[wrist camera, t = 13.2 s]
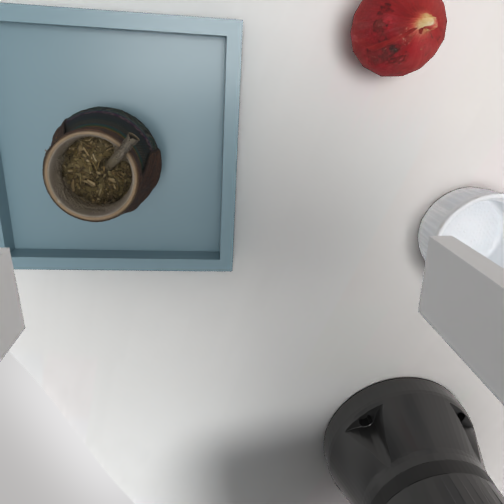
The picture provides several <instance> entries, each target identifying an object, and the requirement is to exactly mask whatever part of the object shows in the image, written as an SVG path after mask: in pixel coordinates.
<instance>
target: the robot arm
mask: <svg viewBox="0 0 504 504" xmlns="http://www.w3.org/2000/svg"><path fill="white" fill-rule="evenodd" d="M418 312H419V313H420V314H421V315H422V316H423V317H424V318H425V320H426V321H427V322H428V323H429V324H430V325H431V326H432V327H433V328H434V329H435V330H436V332H437V333H438V334H439V335H440V336H441V337H442V338H443V339H444V340H445V341H446V343H447V344H448V345H449V346H450V347H451V348H452V349H453V350H454V351H455V352H456V354H457V355H458V356H459V357H460V358H461V359H462V360H463V361H464V362H465V363H466V365H467V366H468V367H469V368H470V369H471V370H472V371H473V372H474V373H475V374H476V375H477V377H478V378H479V379H480V380H481V381H482V382H483V383H484V384H485V385H486V386H487V388H488V389H489V390H490V391H491V392H492V393H493V394H494V395H495V396H496V397H497V399H498V400H499V401H500V402H501V403H502V404H503V405H504V268H502V267H501V266H499V265H497V264H496V263H494V262H493V261H491V260H490V259H488V258H486V257H485V256H483V255H482V254H480V253H479V252H477V251H475V250H474V249H472V248H471V247H469V246H468V245H466V244H464V243H463V242H461V241H460V240H458V239H457V238H455V237H453V236H429V242H428V248H427V255H426V262H425V268H424V275H423V282H422V289H421V295H420V302H419V309H418ZM24 329H25V324H24V319H23V314H22V309H21V304H20V299H19V294H18V289H17V284H16V279H15V274H14V269H13V264H12V258H11V253H10V248H9V247H8V248H0V361H1V360H2V359H3V357H4V356H5V355H6V353H7V352H8V351H9V349H10V348H11V346H12V345H13V344H14V342H15V341H16V340H17V338H18V337H19V336H20V334H21V333H22V332H23V330H24ZM324 453H325V457H326V461H327V464H328V467H329V470H330V473H331V476H332V478H333V480H334V481H335V483H336V485H337V486H338V487H339V489H340V490H341V491H342V492H343V494H344V495H345V497H346V498H347V499H348V501H349V502H350V503H351V504H504V497H503V495H502V494H501V493H500V491H499V490H498V489H497V487H496V486H495V484H494V483H493V481H492V480H491V478H490V477H489V476H488V474H487V472H486V470H485V466H484V463H483V459H482V456H481V452H480V449H479V445H478V442H477V438H476V435H475V431H474V428H473V425H472V422H471V420H470V418H469V416H468V414H467V412H466V411H465V410H464V408H463V407H462V406H461V404H460V403H459V402H458V400H457V399H456V398H455V396H454V395H453V394H452V393H451V392H450V391H448V390H447V389H446V388H444V387H443V386H441V385H439V384H437V383H434V382H432V381H428V380H424V379H418V378H399V379H392V380H388V381H384V382H380V383H378V384H375V385H372V386H370V387H368V388H366V389H364V390H362V391H360V392H359V393H357V394H356V395H354V396H353V397H351V398H350V399H349V400H348V401H347V402H345V403H344V404H343V405H342V406H341V407H340V409H339V410H338V411H337V412H336V413H335V415H334V416H333V418H332V419H331V421H330V423H329V425H328V427H327V430H326V433H325V438H324Z"/></svg>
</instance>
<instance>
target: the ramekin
mask: <svg viewBox="0 0 504 504" xmlns="http://www.w3.org/2000/svg"><path fill="white" fill-rule="evenodd" d="M429 236H453V237H455V238H457V239H458V240H460V241H461V242H463V243H464V244H466V245H468V246H469V247H471V248H472V249H474V250H475V251H477V252H479V253H480V254H482V255H483V256H485V257H486V258H488V259H490V260H491V261H493V262H494V263H496V264H497V265H499V266H501V267H502V268H504V193H498V192H494V191H491V190H487V189H482V188H474V187H468V188H461V189H457V190H454V191H452V192H450V193H448V194H446V195H444V196H443V197H441V198H440V199H438V200H437V201H436V202H435V203H434V204H433V205H432V206H431V207H430V208H429V210H428V211H427V212H426V214H425V216H424V217H423V219H422V222H421V224H420V228H419V232H418V244H419V249H420V251H421V254H422V256H423V258H424V260H425V261H426V255H427V248H428V242H429Z"/></svg>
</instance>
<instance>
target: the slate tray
mask: <svg viewBox="0 0 504 504" xmlns="http://www.w3.org/2000/svg"><path fill="white" fill-rule="evenodd" d="M242 29H243V20H236V19H222V18H208V17H194V16H180V15H166V14H152V13H138V12H124V11H110V10H96V9H82V8H68V7H54V6H40V5H26V4H12V3H0V248H8V247H9V248H10V253H11V258H12V264H13V269H47V270H142V271H232V263H233V240H234V216H235V193H236V169H237V146H238V122H239V99H240V76H241V52H242ZM98 106H99V107H110V108H116V109H120V110H123V111H124V112H127V113H129V114H131V115H132V116H134V117H136V118H137V119H138V120H139V121H141V122H142V123H143V124H144V125H145V127H146V128H148V130H149V131H150V133H151V134H152V136H153V137H154V140H155V142H156V144H157V147H158V148H159V149H160V152H161V157H162V158H161V159H162V168H161V174H160V178H159V181H158V183H157V185H156V186H155V188H154V189H153V190H152V192H151V193H150V195H149V196H148V197H147V198H146V199H145V200H144V201H143V202H142V203H141V204H140V205H139V207H138V208H137V209H135V210H134V211H132V212H128V213H124V214H122V215H120V216H118V217H116V218H114V219H111V220H108V221H103V222H89V221H83V220H80V219H77V218H74V217H72V216H70V215H68V214H67V213H65V212H64V211H63V210H61V209H60V208H59V207H58V206H57V205H56V204H55V203H54V202H53V200H52V199H51V197H50V195H49V194H48V192H47V190H46V187H45V185H44V180H43V175H42V174H43V173H42V172H43V171H42V169H43V160H44V157H45V153H46V151H47V150H48V149H49V146H51V143H52V138H53V135H54V133H55V131H56V130H57V128H58V127H60V126H61V124H62V123H63V121H64V119H67V118H69V117H70V116H72V115H73V114H75V113H77V112H79V111H81V110H86V109H88V108H93V107H98ZM45 149H46V151H45Z"/></svg>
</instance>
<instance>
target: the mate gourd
mask: <svg viewBox="0 0 504 504" xmlns="http://www.w3.org/2000/svg"><path fill="white" fill-rule="evenodd" d="M45 151H46V149H45ZM161 158H162V157H161V152H160V149H159V148H158V147H157V144H156V142H155V140H154V137H153V136H152V134H151V133H150V131H149V130H148V128H146V127H145V125H144V124H143V123H142V122H141V121H139V120H138V119H137V118H136V117H134V116H132V115H131V114H129V113H127V112H124V111H123V110H120V109H116V108H110V107H99V106H98V107H93V108H88V109H86V110H81V111H79V112H77V113H75V114H73V115H72V116H70V117H69V118H67V119H64V121H63V123H62V124H61V126H60V127H58V128H57V130H56V131H55V133H54V135H53V138H52V143H51V146H49V149H48V150H47V151H46V153H45V157H44V160H43V169H42V171H43V172H42V173H43V174H42V175H43V180H44V185H45V187H46V190H47V192H48V194H49V195H50V197H51V199H52V200H53V202H54V203H55V204H56V205H57V206H58V207H59V208H60V209H61V210H63V211H64V212H65V213H67V214H68V215H70V216H72V217H74V218H77V219H80V220H83V221H89V222H103V221H108V220H111V219H114V218H116V217H118V216H120V215H122V214H124V213H128V212H132V211H134V210H135V209H137V208H138V207H139V205H140V204H141V203H142V202H143V201H144V200H145V199H146V198H147V197H148V196H149V195H150V193H151V192H152V190H153V189H154V188H155V186H156V185H157V183H158V181H159V178H160V174H161V168H162V159H161Z"/></svg>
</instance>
